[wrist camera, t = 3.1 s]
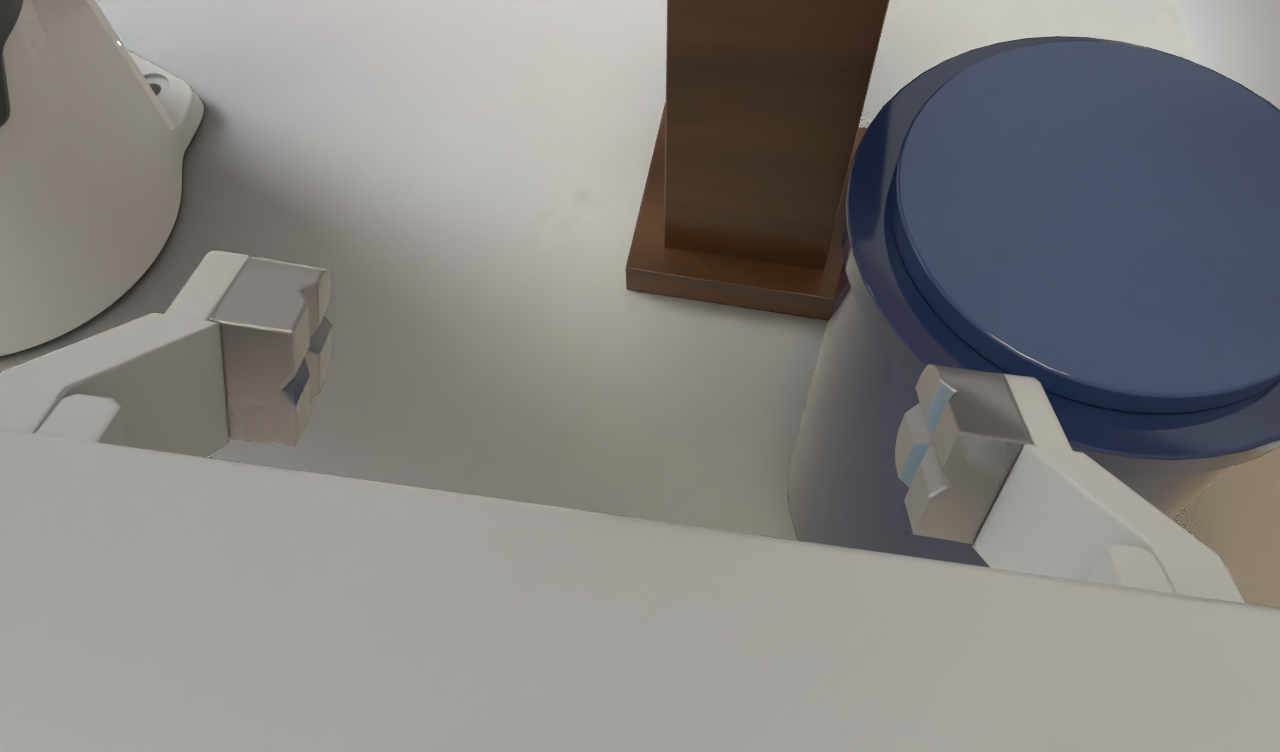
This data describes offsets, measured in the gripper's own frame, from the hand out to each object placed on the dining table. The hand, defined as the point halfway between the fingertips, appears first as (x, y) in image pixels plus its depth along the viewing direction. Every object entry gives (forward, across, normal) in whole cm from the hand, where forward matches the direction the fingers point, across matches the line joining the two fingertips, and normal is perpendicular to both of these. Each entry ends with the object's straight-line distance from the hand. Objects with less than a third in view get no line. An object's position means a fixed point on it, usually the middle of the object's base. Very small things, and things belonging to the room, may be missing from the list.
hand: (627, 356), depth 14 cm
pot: (+17, -14, +16) cm, 27 cm away
